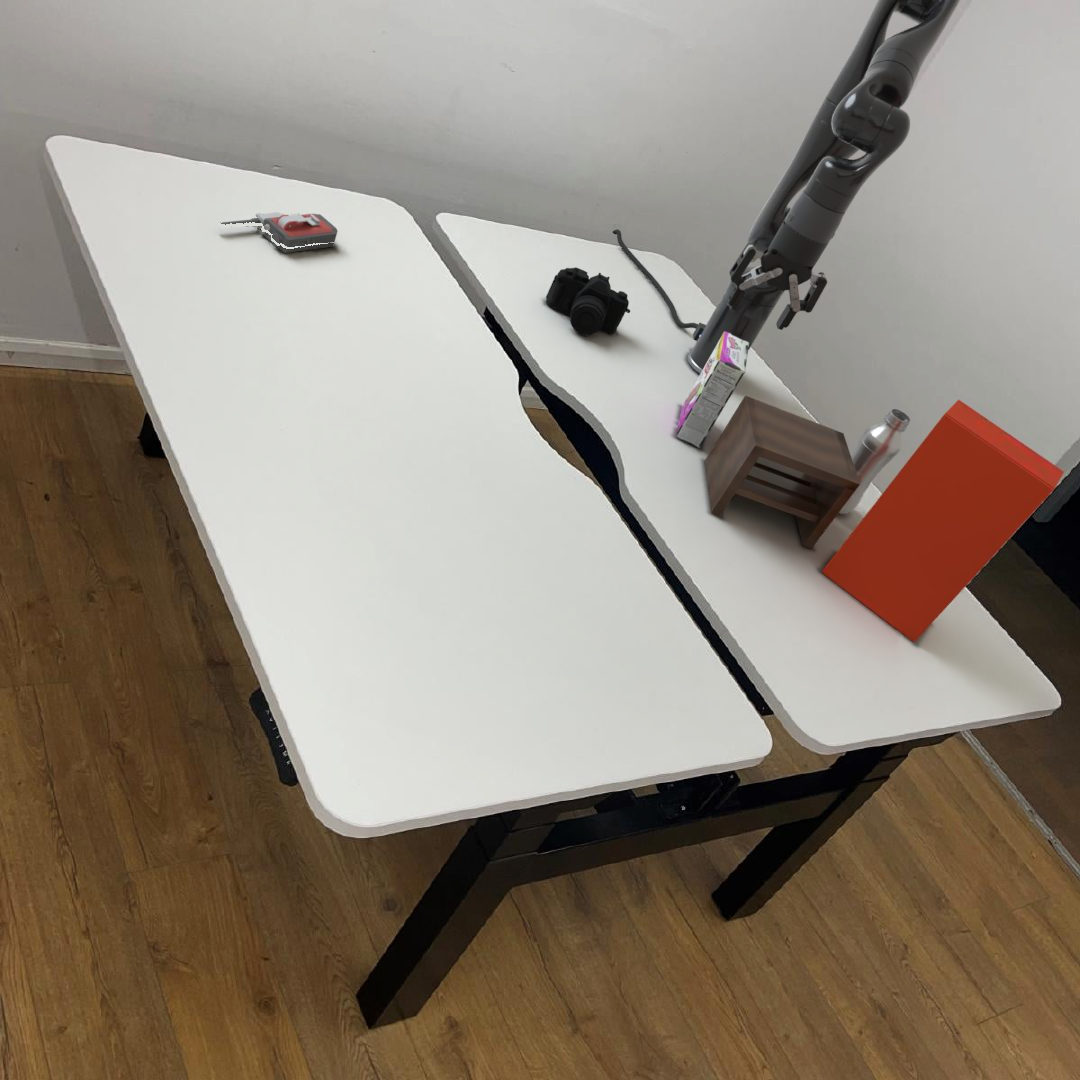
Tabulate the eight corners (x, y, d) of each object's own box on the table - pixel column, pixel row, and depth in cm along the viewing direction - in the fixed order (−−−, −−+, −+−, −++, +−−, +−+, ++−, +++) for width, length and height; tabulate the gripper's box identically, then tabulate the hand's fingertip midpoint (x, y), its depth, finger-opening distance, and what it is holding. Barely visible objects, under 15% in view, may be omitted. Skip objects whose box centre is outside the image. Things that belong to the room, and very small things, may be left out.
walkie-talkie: (309, 219, 183) (213, 229, 168) (315, 196, 180) (218, 205, 165) (341, 247, 180) (246, 260, 165) (348, 224, 177) (252, 235, 163)
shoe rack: (703, 461, 175) (745, 395, 166) (798, 496, 178) (843, 433, 170) (710, 513, 164) (755, 445, 155) (811, 549, 168) (860, 484, 159)
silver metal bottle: (809, 492, 181) (875, 401, 169) (837, 493, 184) (903, 404, 172) (828, 518, 177) (897, 426, 165) (857, 519, 180) (926, 429, 168)
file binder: (913, 644, 159) (1054, 489, 140) (820, 573, 163) (944, 413, 144) (927, 622, 165) (1064, 470, 146) (837, 554, 169) (959, 398, 150)
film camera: (537, 317, 189) (556, 274, 184) (546, 295, 197) (564, 253, 191) (613, 351, 191) (634, 310, 185) (619, 329, 198) (639, 288, 193)
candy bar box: (679, 406, 185) (724, 329, 175) (704, 418, 186) (750, 342, 176) (672, 437, 176) (719, 358, 167) (699, 449, 177) (747, 371, 167)
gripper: (845, 235, 162) (790, 322, 172) (763, 200, 159) (713, 290, 169) (854, 255, 156) (797, 345, 166) (770, 219, 153) (717, 312, 163)
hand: (755, 317), depth 167 cm, fingers open, 8 cm apart
